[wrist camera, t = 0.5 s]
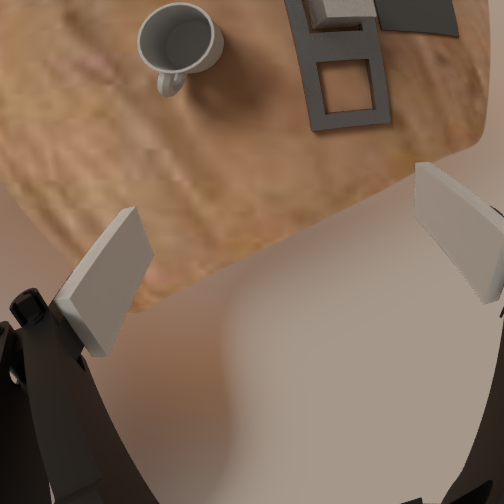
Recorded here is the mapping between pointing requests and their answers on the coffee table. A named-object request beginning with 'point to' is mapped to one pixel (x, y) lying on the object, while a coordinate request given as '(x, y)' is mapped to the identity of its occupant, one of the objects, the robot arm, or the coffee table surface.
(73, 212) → the coffee table surface
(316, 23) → the grey rectangular block
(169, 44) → the cup
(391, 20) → the rubber mat
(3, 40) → the coffee table surface
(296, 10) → the rail
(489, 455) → the robot arm
